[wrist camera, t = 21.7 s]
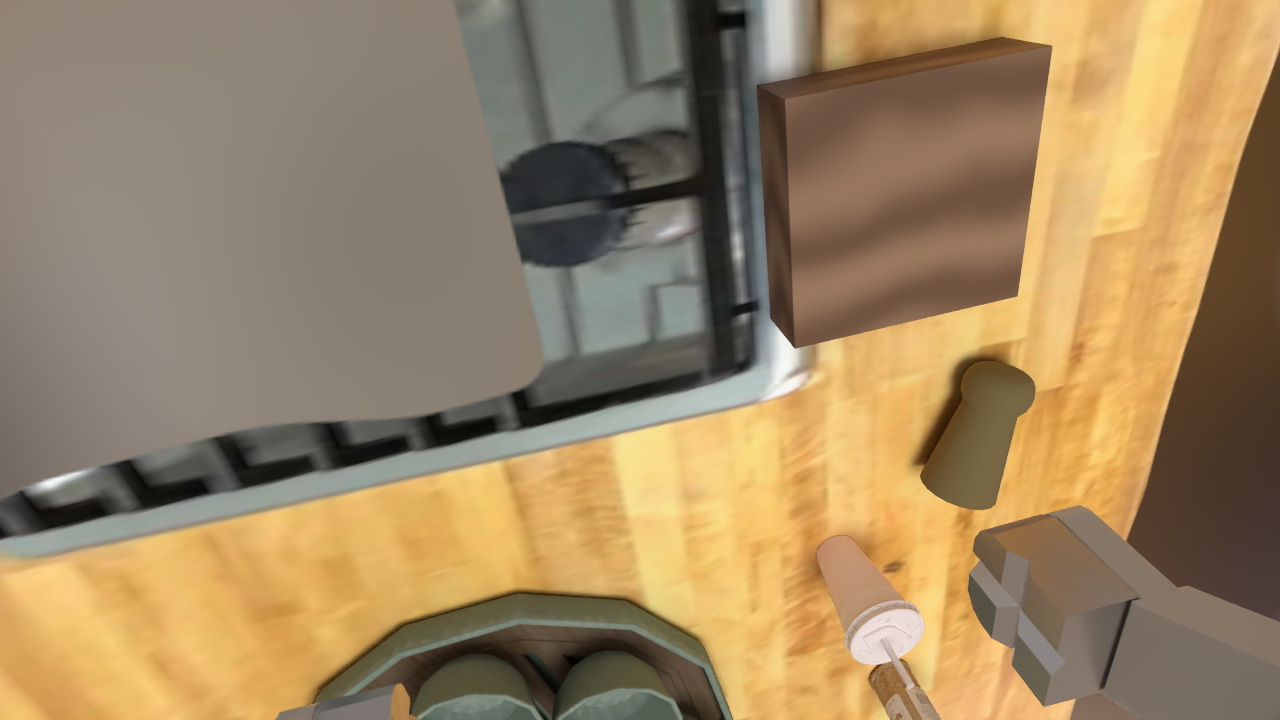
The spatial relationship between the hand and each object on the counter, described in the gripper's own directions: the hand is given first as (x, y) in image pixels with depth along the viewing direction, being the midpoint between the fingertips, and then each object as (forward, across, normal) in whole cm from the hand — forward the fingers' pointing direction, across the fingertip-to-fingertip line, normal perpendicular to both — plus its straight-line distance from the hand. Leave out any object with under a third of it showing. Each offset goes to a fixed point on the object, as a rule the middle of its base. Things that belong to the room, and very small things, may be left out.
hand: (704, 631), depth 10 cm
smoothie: (+37, -19, +42) cm, 59 cm away
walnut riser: (+38, -22, +9) cm, 44 cm away
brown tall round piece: (+34, -28, +35) cm, 56 cm away
